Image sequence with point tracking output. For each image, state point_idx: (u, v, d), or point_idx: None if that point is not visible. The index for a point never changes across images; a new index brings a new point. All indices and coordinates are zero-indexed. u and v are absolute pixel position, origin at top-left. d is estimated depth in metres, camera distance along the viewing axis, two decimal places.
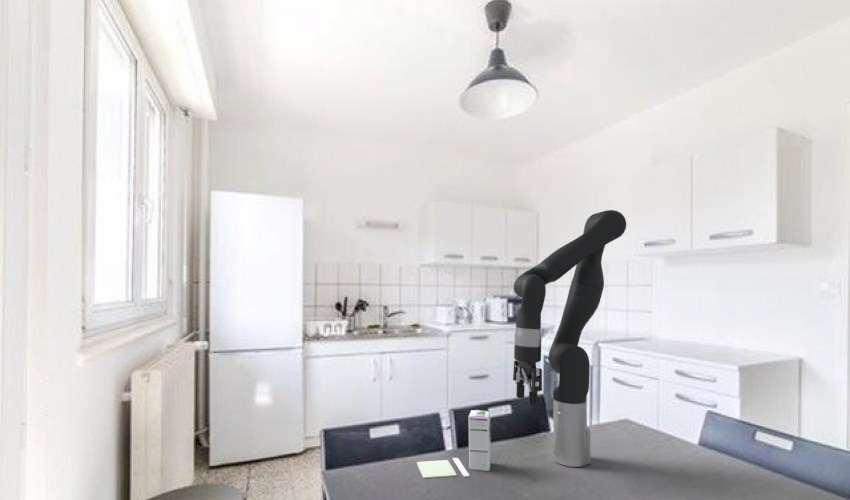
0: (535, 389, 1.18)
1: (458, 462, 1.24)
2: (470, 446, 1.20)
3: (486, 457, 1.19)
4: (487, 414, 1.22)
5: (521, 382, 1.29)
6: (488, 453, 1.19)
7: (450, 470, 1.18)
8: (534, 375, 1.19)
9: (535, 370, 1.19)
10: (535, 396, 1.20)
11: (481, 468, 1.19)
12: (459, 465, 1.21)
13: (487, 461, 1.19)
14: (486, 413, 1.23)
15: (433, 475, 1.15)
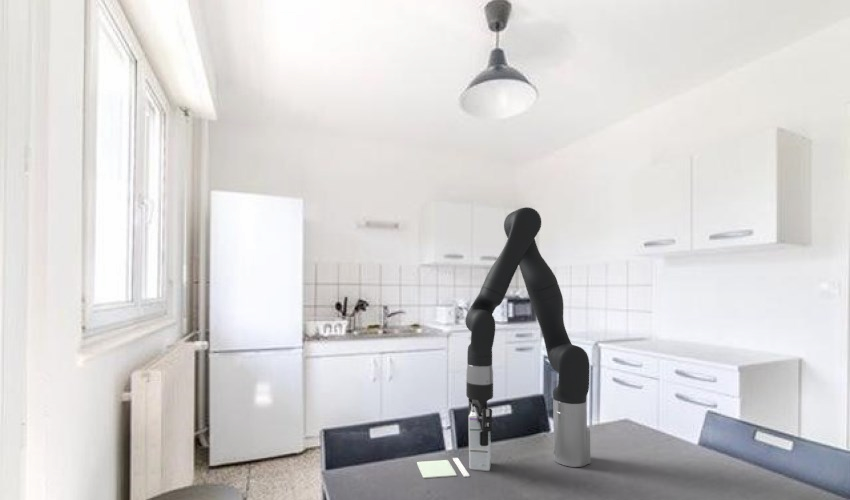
0: (485, 430, 1.16)
1: (458, 462, 1.24)
2: (470, 446, 1.20)
3: (486, 457, 1.19)
4: None
5: None
6: (488, 453, 1.19)
7: (450, 470, 1.18)
8: (484, 416, 1.16)
9: (485, 411, 1.16)
10: (486, 436, 1.18)
11: (481, 468, 1.19)
12: (459, 465, 1.21)
13: (487, 461, 1.19)
14: None
15: (433, 475, 1.15)
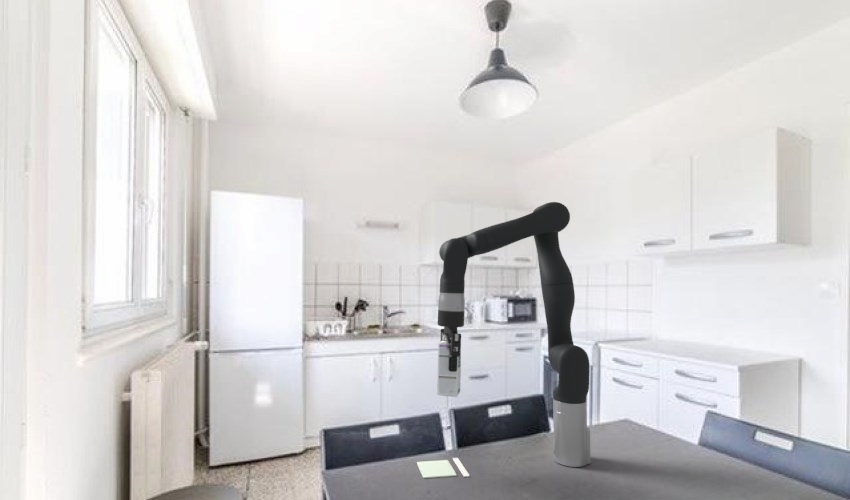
0: (453, 354, 1.16)
1: (458, 462, 1.24)
2: (439, 372, 1.20)
3: (454, 383, 1.19)
4: None
5: None
6: (456, 379, 1.19)
7: (450, 470, 1.18)
8: (453, 340, 1.16)
9: (454, 335, 1.16)
10: (454, 361, 1.18)
11: (449, 394, 1.19)
12: (459, 465, 1.21)
13: (455, 387, 1.19)
14: None
15: (433, 475, 1.15)
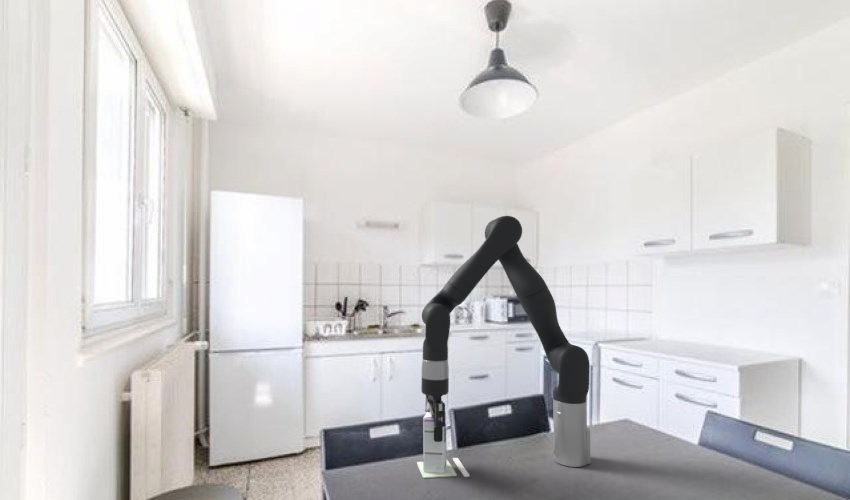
0: (438, 425, 1.13)
1: (458, 462, 1.24)
2: (424, 448, 1.17)
3: (441, 459, 1.16)
4: None
5: None
6: (443, 455, 1.17)
7: (450, 470, 1.18)
8: (436, 410, 1.14)
9: (438, 405, 1.14)
10: (439, 432, 1.15)
11: (435, 471, 1.16)
12: (459, 465, 1.21)
13: (441, 464, 1.16)
14: None
15: (433, 475, 1.15)
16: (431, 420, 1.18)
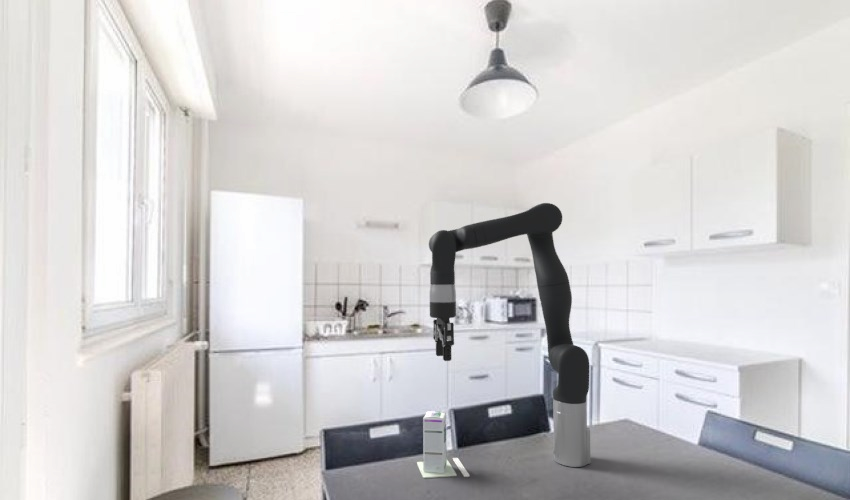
0: (447, 343, 1.17)
1: (458, 462, 1.24)
2: (424, 448, 1.17)
3: (441, 459, 1.16)
4: (442, 415, 1.19)
5: (440, 340, 1.28)
6: (443, 455, 1.17)
7: (450, 470, 1.18)
8: (445, 329, 1.18)
9: (446, 324, 1.18)
10: (448, 351, 1.19)
11: (435, 471, 1.16)
12: (459, 465, 1.21)
13: (441, 464, 1.16)
14: (442, 414, 1.21)
15: (433, 475, 1.15)
16: (431, 420, 1.18)
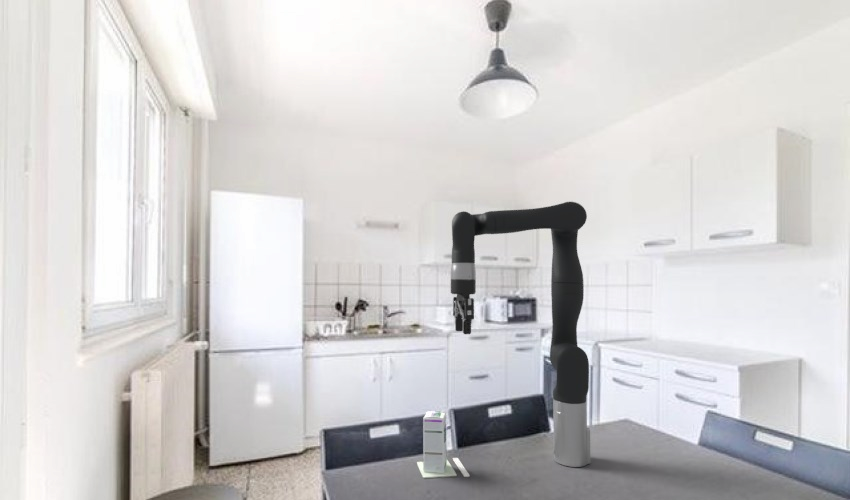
0: (467, 317, 1.24)
1: (458, 462, 1.24)
2: (424, 448, 1.17)
3: (441, 459, 1.16)
4: (442, 415, 1.19)
5: (459, 316, 1.35)
6: (443, 455, 1.17)
7: (450, 470, 1.18)
8: (466, 304, 1.25)
9: (467, 299, 1.25)
10: (468, 325, 1.26)
11: (435, 471, 1.16)
12: (459, 465, 1.21)
13: (441, 464, 1.16)
14: (442, 414, 1.21)
15: (433, 475, 1.15)
16: (431, 420, 1.18)
